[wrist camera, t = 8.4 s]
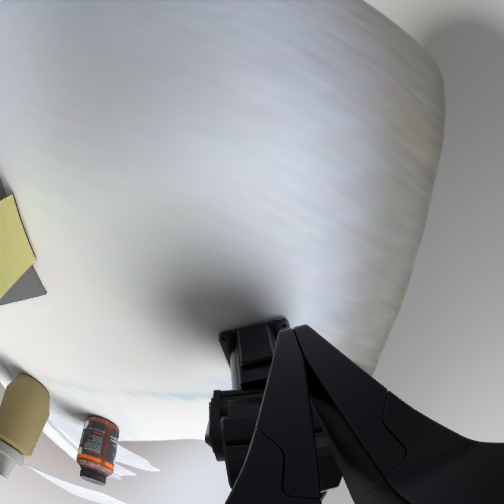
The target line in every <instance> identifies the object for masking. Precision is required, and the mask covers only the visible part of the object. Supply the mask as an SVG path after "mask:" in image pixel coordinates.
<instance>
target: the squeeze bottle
mask: <svg viewBox="0 0 504 504" xmlns="http://www.w3.org/2000/svg"><path fill="white" fill-rule="evenodd" d="M48 417H49V393H48V391H47V390H46V389H45V387H43V386H42V385H41V384H40V383H39V382H38V381H36V380H35V379H33V378H31V377H29V376H28V375H24V374H22V375H20V376H18V377H17V378H16V379H15V380H14V381H12V382H11V383H10V384H9V385H8V386H7V388H6V390H5V393H4V397H3V400H2V403H1V406H0V440H1V441H0V475H2V476H4V477H5V478H8V476H9V474H10V472H11V471H12V469H13V467H14V466H15V464H16V463H17V464H19V465H23V461H24V456H23V455H26V456H30V455H32V452H33V450H34V448H35V446H36V443H37V441H38V439H39V436H40V434H41V432H42V430H43V428H44V426H45V423H46V421H47V419H48Z"/></svg>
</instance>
